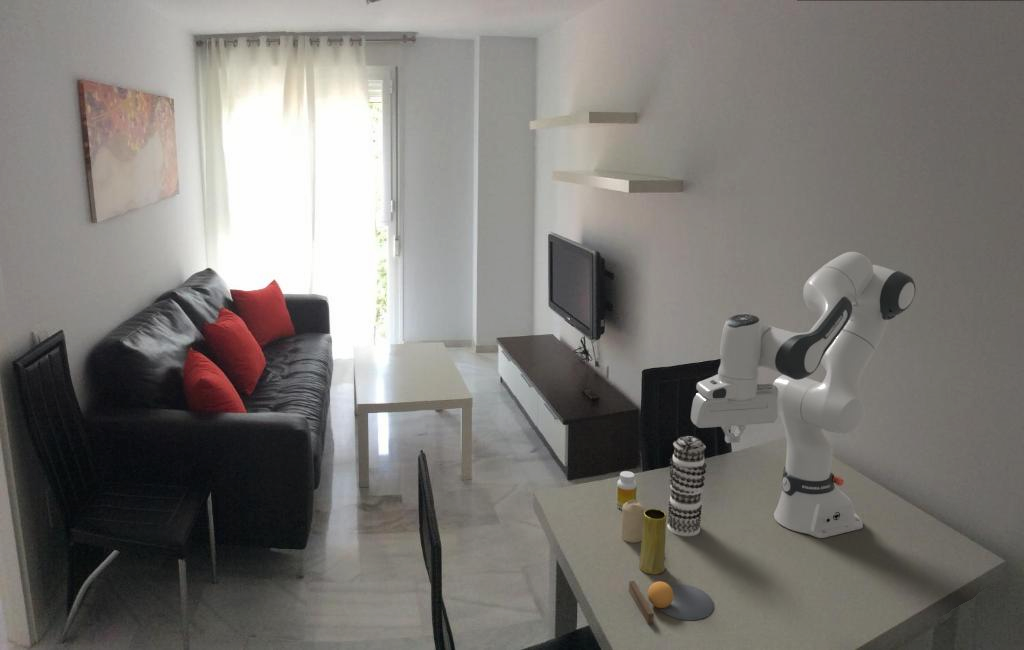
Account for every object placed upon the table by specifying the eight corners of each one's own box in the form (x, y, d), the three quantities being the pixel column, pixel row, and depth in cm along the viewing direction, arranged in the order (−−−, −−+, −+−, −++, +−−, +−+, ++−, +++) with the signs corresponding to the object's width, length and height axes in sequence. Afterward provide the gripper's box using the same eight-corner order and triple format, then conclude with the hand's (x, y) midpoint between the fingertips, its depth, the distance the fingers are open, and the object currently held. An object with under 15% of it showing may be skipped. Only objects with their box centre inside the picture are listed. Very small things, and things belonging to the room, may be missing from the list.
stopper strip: (633, 590, 170) (634, 580, 170) (653, 623, 159) (654, 613, 158) (628, 591, 170) (629, 581, 169) (648, 624, 159) (648, 614, 158)
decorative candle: (674, 538, 192) (680, 448, 186) (660, 521, 201) (665, 434, 194) (707, 535, 194) (714, 445, 187) (691, 517, 202) (698, 431, 196)
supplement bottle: (636, 511, 206) (638, 478, 203) (617, 510, 206) (618, 478, 203) (634, 501, 211) (635, 470, 209) (615, 501, 211) (616, 469, 209)
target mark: (698, 581, 174) (698, 581, 174) (724, 616, 161) (724, 615, 161) (645, 587, 171) (645, 587, 171) (667, 623, 159) (667, 622, 159)
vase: (636, 561, 182) (639, 507, 178) (660, 560, 182) (664, 507, 179) (642, 575, 176) (645, 520, 172) (667, 574, 177) (671, 519, 173)
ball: (651, 573, 166) (639, 593, 166) (661, 587, 160) (649, 609, 161) (671, 580, 167) (659, 601, 168) (681, 595, 162) (669, 616, 163)
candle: (642, 544, 189) (644, 508, 187) (620, 541, 190) (622, 506, 188) (643, 533, 195) (645, 498, 192) (621, 530, 196) (623, 495, 193)
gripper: (771, 378, 176) (766, 433, 180) (690, 383, 172) (686, 439, 176) (786, 387, 170) (780, 444, 174) (701, 392, 166) (697, 450, 170)
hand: (732, 441), depth 175 cm, fingers closed
